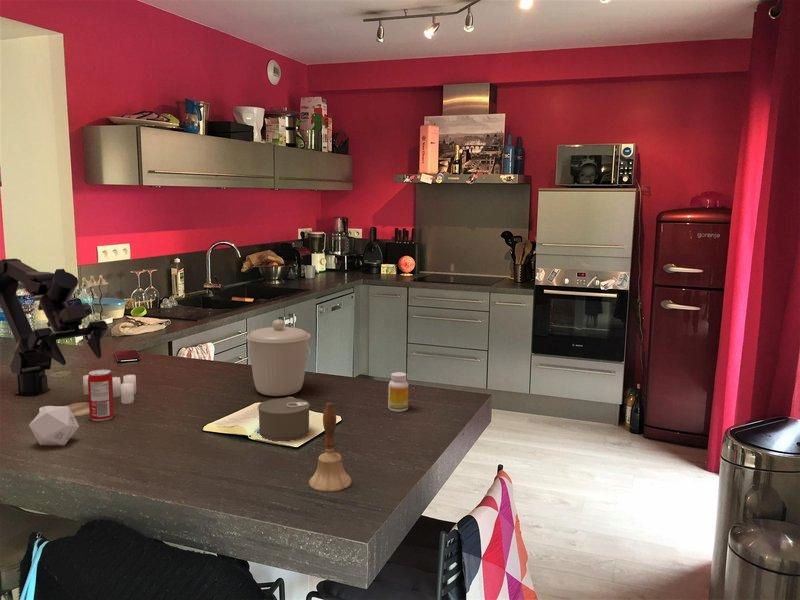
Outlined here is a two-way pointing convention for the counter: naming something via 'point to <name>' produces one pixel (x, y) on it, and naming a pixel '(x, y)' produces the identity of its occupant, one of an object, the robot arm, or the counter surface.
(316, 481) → the hand bell
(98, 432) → the counter surface
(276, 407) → the can
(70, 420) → the die
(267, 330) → the canister
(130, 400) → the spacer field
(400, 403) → the supplement bottle
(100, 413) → the soda can
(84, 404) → the coaster
